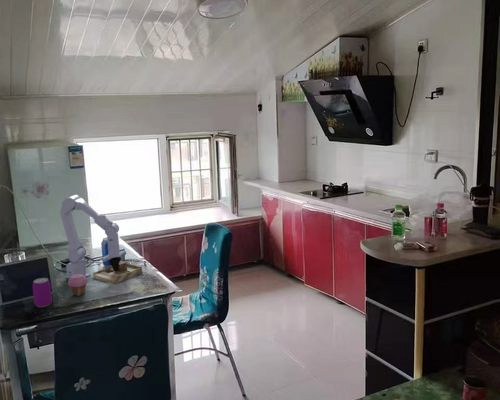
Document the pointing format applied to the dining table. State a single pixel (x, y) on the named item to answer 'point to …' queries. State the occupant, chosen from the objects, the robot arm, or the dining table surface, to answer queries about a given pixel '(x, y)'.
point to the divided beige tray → (117, 273)
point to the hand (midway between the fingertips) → (115, 270)
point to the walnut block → (122, 266)
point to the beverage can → (42, 292)
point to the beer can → (105, 252)
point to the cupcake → (78, 284)
